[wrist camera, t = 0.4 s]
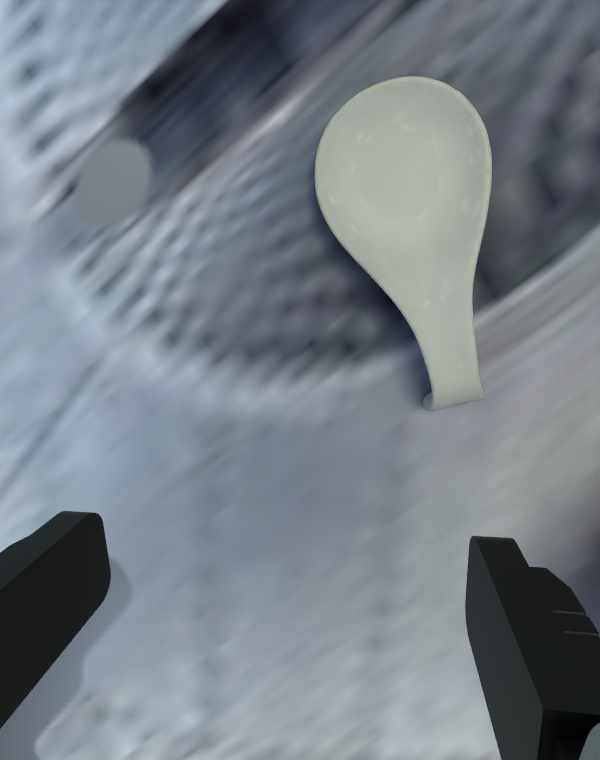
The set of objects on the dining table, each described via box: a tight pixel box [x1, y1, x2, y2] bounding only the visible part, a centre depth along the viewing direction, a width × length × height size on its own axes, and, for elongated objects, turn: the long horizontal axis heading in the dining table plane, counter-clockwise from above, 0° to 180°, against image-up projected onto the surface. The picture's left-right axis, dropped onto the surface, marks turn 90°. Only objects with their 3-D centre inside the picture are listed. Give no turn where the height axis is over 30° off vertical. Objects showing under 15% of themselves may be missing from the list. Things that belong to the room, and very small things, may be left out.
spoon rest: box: [315, 76, 492, 411], centre depth 31 cm, size 24×12×7 cm, turn 18°
